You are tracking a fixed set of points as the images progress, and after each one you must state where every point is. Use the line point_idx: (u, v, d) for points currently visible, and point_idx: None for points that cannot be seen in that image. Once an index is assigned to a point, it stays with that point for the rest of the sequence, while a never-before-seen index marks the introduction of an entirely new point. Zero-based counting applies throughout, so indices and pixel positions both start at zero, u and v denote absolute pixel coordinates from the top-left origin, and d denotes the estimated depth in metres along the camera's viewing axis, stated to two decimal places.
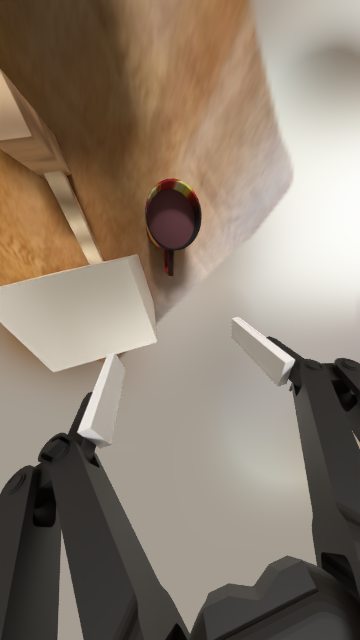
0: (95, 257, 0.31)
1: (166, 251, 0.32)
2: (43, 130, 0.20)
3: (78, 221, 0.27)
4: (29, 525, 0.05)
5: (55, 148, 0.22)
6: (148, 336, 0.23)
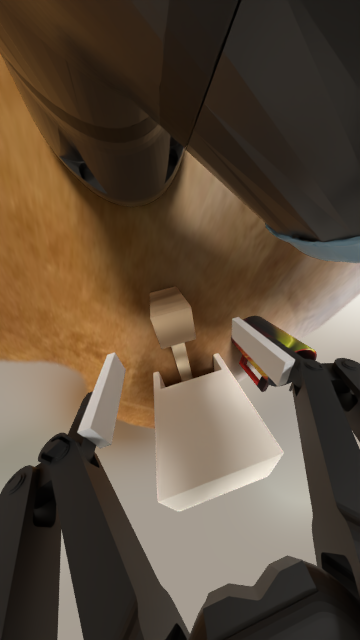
0: (184, 365, 0.32)
1: None
2: None
3: (179, 344, 0.29)
4: (29, 525, 0.05)
5: None
6: (264, 476, 0.24)
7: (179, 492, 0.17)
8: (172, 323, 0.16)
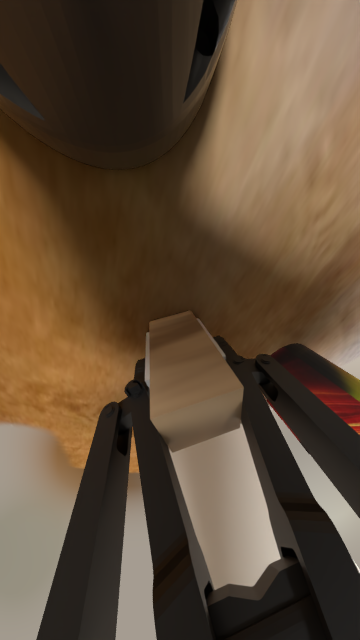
0: None
1: None
2: None
3: None
4: (115, 448, 0.07)
5: None
6: None
7: None
8: (199, 417, 0.07)
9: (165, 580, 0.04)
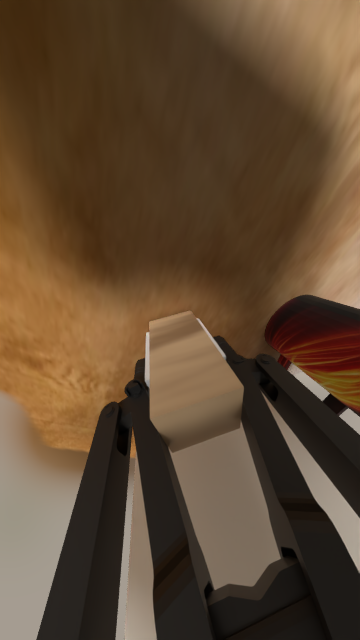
0: None
1: None
2: None
3: None
4: (115, 447, 0.07)
5: None
6: None
7: None
8: (199, 417, 0.07)
9: (165, 580, 0.04)
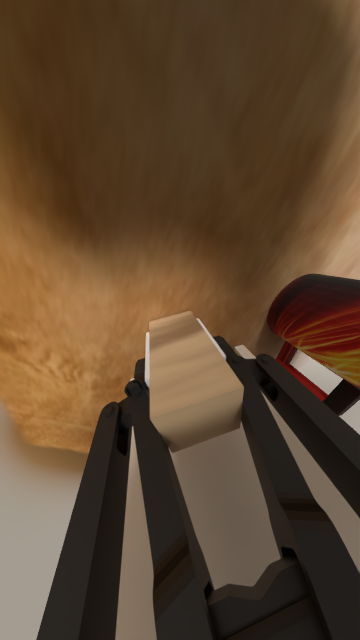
0: None
1: None
2: None
3: None
4: (115, 448, 0.07)
5: None
6: None
7: None
8: (199, 417, 0.07)
9: (165, 580, 0.04)
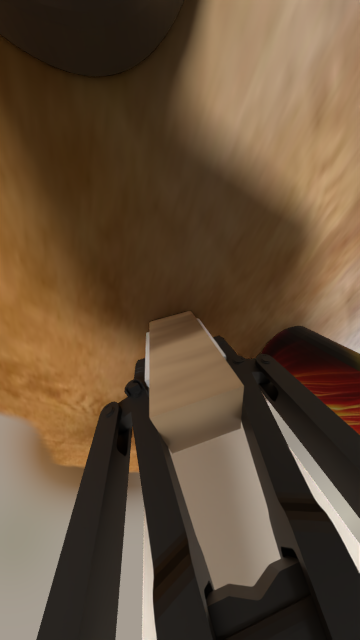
0: None
1: None
2: None
3: None
4: (115, 448, 0.07)
5: None
6: None
7: None
8: (199, 416, 0.07)
9: (165, 580, 0.04)
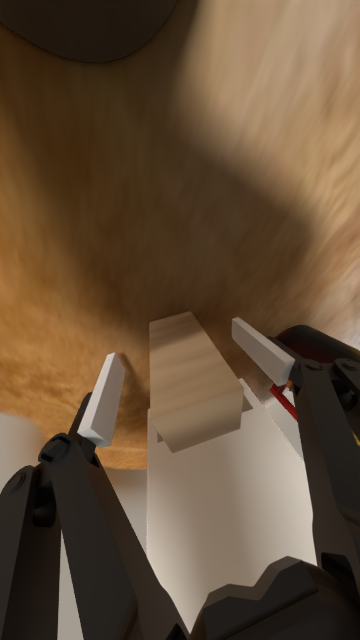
0: None
1: None
2: None
3: None
4: (30, 525, 0.05)
5: None
6: None
7: None
8: (199, 418, 0.07)
9: None
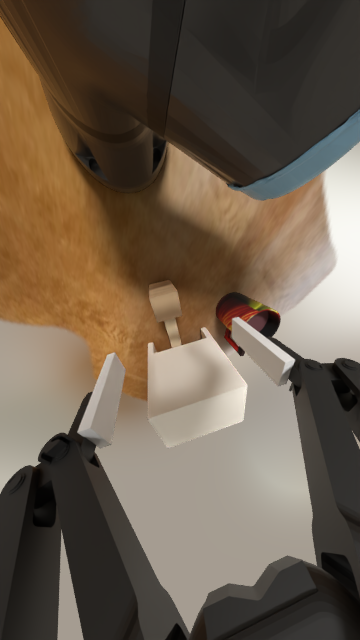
0: None
1: None
2: None
3: (173, 327, 0.36)
4: (29, 525, 0.05)
5: None
6: (239, 419, 0.29)
7: (164, 412, 0.22)
8: (164, 302, 0.23)
9: None
